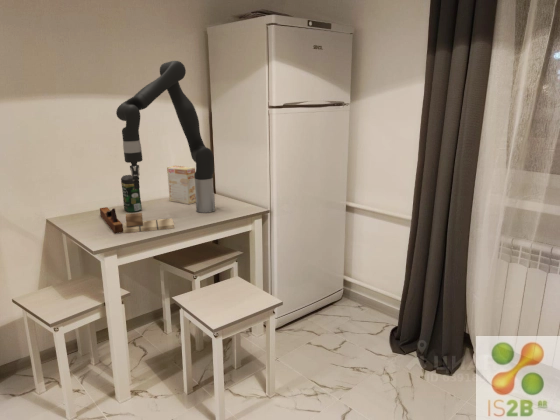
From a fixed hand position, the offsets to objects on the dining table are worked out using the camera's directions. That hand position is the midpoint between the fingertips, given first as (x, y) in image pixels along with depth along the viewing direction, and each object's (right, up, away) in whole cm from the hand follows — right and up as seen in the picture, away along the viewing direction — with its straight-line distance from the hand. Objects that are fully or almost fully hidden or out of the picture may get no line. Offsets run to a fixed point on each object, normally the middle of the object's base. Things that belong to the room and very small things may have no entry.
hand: (136, 186), depth 199 cm
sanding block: (-1, -18, +2) cm, 18 cm away
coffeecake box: (+10, -6, +49) cm, 50 cm away
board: (+4, -18, +4) cm, 19 cm away
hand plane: (-15, -17, +10) cm, 25 cm away
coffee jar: (-12, -11, +32) cm, 36 cm away
